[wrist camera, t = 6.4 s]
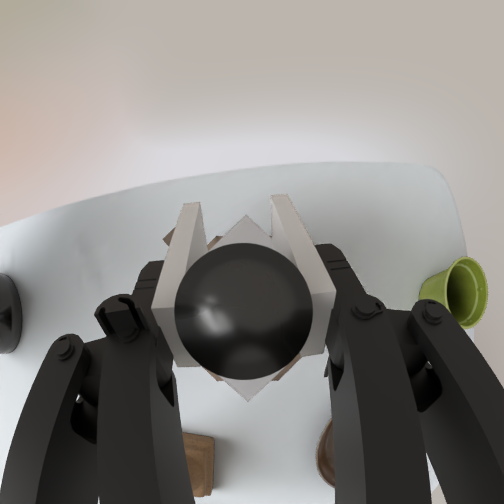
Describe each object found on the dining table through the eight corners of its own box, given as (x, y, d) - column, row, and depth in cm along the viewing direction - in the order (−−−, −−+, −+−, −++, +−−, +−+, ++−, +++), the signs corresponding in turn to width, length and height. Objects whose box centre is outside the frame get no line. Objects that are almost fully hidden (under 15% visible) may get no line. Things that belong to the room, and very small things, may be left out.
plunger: (188, 308, 27) (37, 299, 6) (246, 250, 29) (243, 99, 7) (248, 366, 26) (247, 512, 5) (306, 307, 28) (454, 297, 6)
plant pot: (419, 338, 33) (455, 342, 25) (401, 280, 35) (437, 272, 26) (457, 311, 34) (493, 309, 25) (441, 258, 36) (476, 247, 27)
